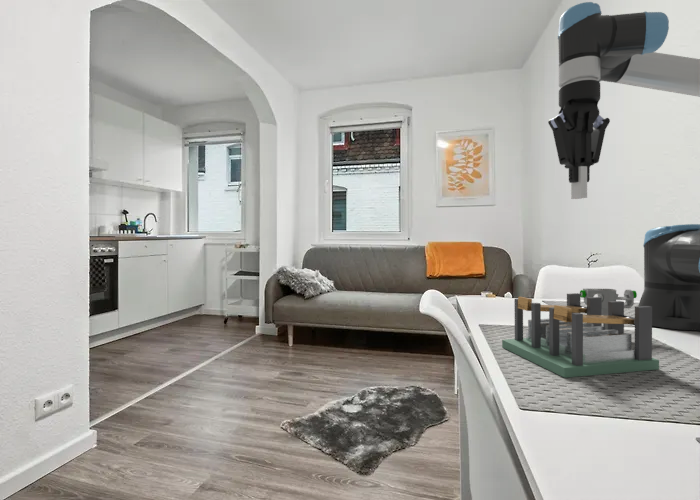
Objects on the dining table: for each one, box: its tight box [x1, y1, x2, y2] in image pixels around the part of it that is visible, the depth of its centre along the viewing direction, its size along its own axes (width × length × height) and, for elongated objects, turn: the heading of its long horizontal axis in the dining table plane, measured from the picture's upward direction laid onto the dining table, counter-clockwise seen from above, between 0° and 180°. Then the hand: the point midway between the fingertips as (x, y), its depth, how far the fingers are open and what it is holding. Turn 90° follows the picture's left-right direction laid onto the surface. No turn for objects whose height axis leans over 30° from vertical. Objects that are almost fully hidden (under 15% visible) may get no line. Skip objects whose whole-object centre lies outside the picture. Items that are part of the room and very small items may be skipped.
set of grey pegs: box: [514, 292, 653, 366], centre depth 69 cm, size 14×16×8 cm
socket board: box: [501, 337, 660, 379], centre depth 69 cm, size 17×17×2 cm
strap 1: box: [517, 296, 587, 314], centre depth 74 cm, size 14×4×2 cm, turn 100°
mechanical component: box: [579, 288, 638, 330], centre depth 83 cm, size 3×10×10 cm, turn 79°
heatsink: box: [525, 318, 635, 364], centre depth 69 cm, size 9×15×4 cm, turn 10°
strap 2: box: [553, 304, 635, 326], centre depth 64 cm, size 14×4×2 cm, turn 100°
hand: (579, 198), depth 82 cm, fingers closed
